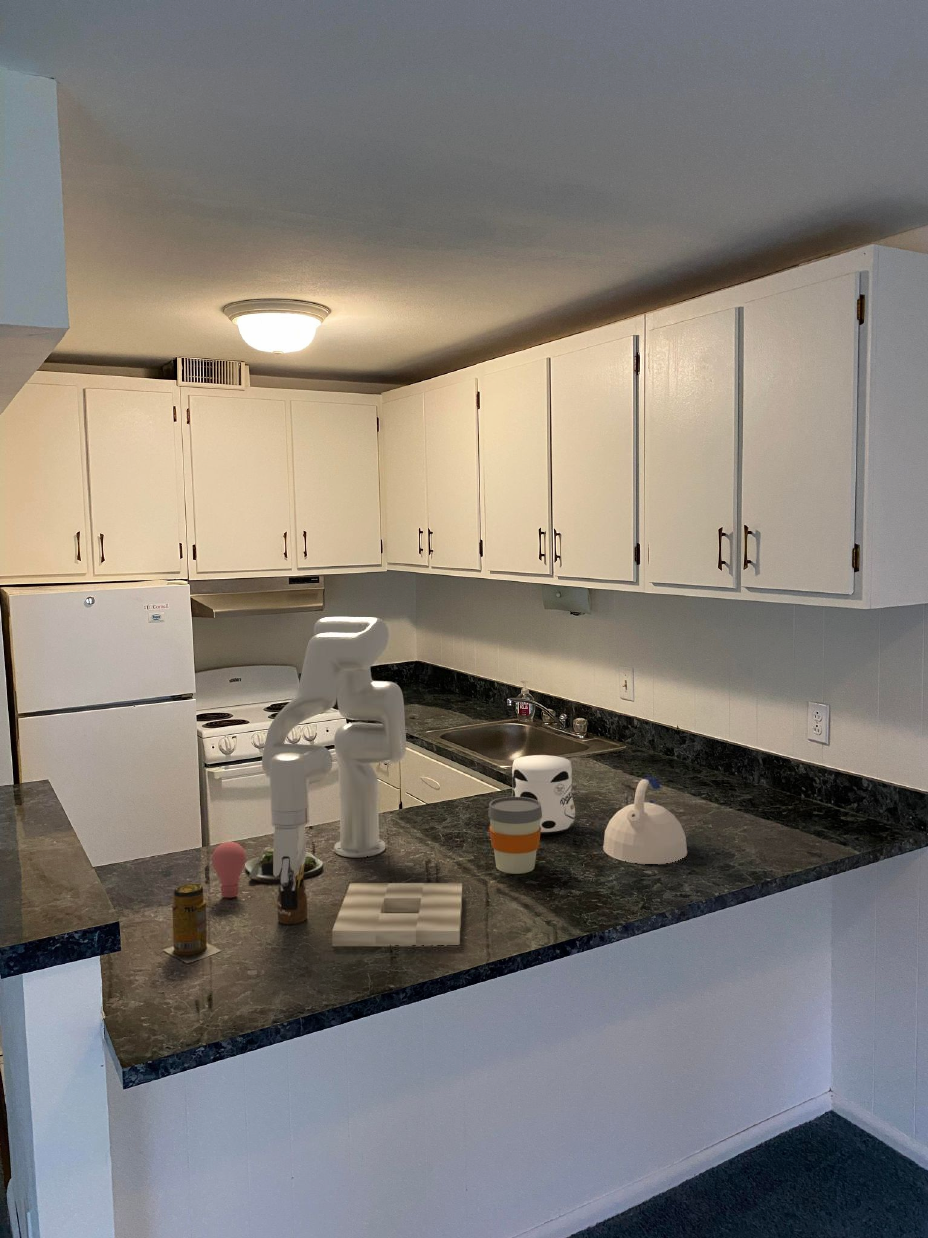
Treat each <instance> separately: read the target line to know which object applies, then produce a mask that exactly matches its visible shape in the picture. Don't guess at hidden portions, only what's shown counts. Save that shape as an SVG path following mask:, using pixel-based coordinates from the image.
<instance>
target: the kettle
mask: <svg viewBox="0 0 928 1238" xmlns="http://www.w3.org/2000/svg"><path fill="white" fill-rule="evenodd" d="M649 784H650V785H651V787H652V789H655V790H657V789H660V788H661V785H660V783H659V782H658V779H656V778H654V777H648V776H647V777H643V778H641V779H640V781H639V782H638V784H637V787H636V790H635V794H634V802H633V803H631V804H628V805H626V806H624V807H622V808H621V809H620V810H618V811H616V813H615V814H614V815H613V816H612V817H611V818H610V820H609V821H608V823H607V826H606V828H605V830H604V838H603V839H604V840H603V846H602V848H603V852H605V853H606V854H607V856H609V857H611V858H613V859H616V860H619V861H622V862H625V861H626V862H625V863H630V864H635V863H637V865H645V864H658V865H667V864H666V863H668V864H673V863H676V862H679V861H681V860H683V859H684V858H685V857H686V856H687V854H688V849H687V838H686V833H685V831H684V829H683V826H682V823H681V822H680V821H679V820H678V818H677V817H676V816H675V814H673V813H672V812H671V811H669V810H668V809H666V808H665V807H663V806H661V805H659V804H656V803H654V801H653V800H651V799H649V801H648V802H645V798H646V792H647V788H648V786H649ZM682 858H683V859H682ZM680 859H681V860H680ZM678 860H679V861H678ZM675 861H676V862H675ZM672 862H673V863H672Z"/></svg>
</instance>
